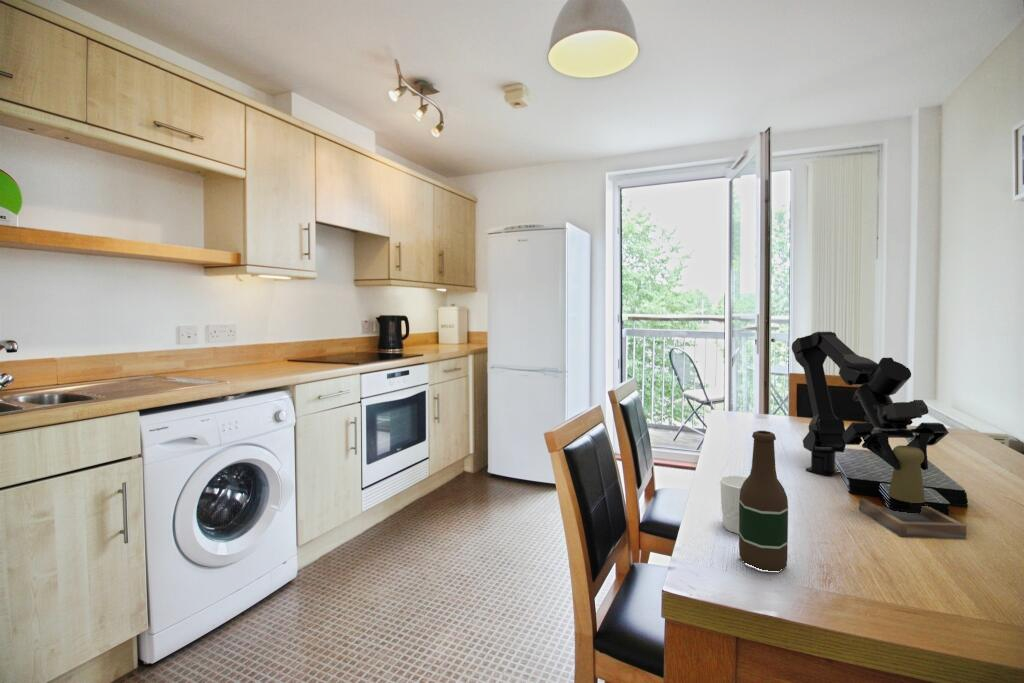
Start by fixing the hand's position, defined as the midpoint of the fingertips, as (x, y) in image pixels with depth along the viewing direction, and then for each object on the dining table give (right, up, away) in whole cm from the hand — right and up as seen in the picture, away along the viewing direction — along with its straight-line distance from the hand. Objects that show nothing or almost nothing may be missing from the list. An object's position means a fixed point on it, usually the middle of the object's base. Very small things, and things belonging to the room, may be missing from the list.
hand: (912, 469), depth 99 cm
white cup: (-36, -13, 0) cm, 38 cm away
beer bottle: (-39, -13, -13) cm, 43 cm away
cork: (0, -7, +2) cm, 7 cm away
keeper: (0, -12, +2) cm, 12 cm away
